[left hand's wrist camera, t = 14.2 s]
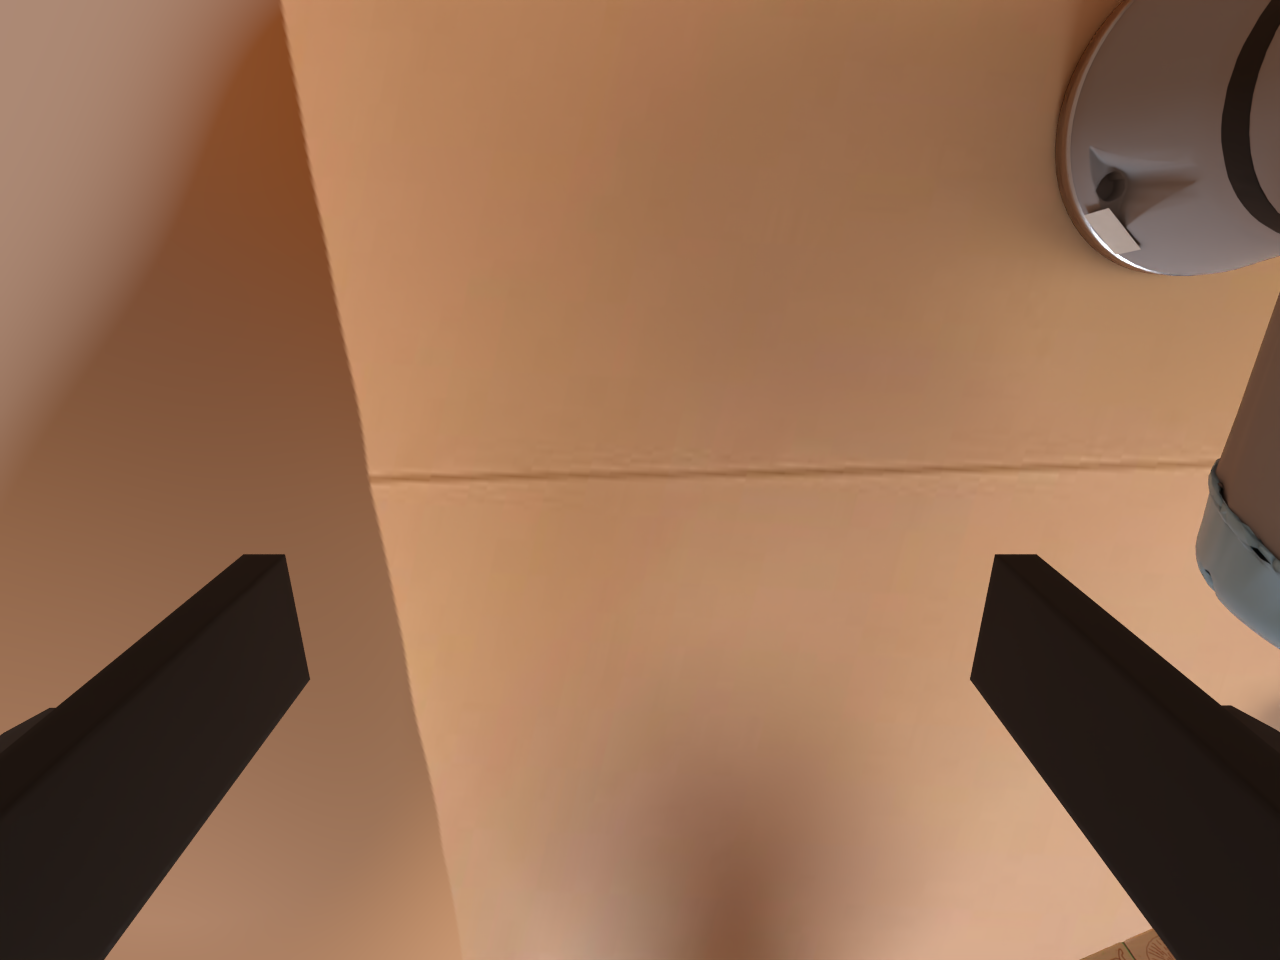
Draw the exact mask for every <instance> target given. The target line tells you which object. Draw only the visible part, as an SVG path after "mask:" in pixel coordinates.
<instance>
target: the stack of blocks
mask: <svg viewBox="0 0 1280 960" xmlns="http://www.w3.org/2000/svg"><path fill="white" fill-rule="evenodd" d="M1081 960H1176V959H1175V958H1174V956H1173V955H1172V954H1171V952H1170V951H1169V949H1168V948H1167V947H1166V945H1165V944H1164V943H1163V941H1162V940H1161V939H1160V937H1159V936H1158V935H1157V933H1156V932H1155V930H1154V929H1150V930H1148V931H1146V932H1144V933H1141V934H1139V935H1137V936H1134V937H1132V938H1130V939H1127V940H1126V941H1124V942H1121V943H1117V944H1115V945H1113V946H1111V947H1108V948H1105V949H1103V950H1101V951H1099V952H1097V953H1094V954H1092V955H1090V956H1087V957H1085V958H1083V959H1081Z"/></svg>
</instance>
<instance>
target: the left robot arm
mask: <svg viewBox="0 0 1280 960" xmlns="http://www.w3.org/2000/svg"><path fill="white" fill-rule="evenodd" d="M1055 160H1056V173H1057V179H1058V185H1059V189H1060V193H1061V197H1062V200H1063V203H1064V205H1065V208H1066V210H1067V213H1068V215H1069V216H1070V218H1071V220H1072V222H1073V224H1074V225H1075V227H1076V228H1077V230H1078V231H1079V233H1080V234H1081V235H1082V236H1083V238H1084V239H1085V240H1086V241H1087V242H1088V243H1089V244H1090V245H1091V246H1092V247H1093V248H1094V249H1095V250H1097V251H1098V252H1099V253H1100V254H1102V255H1103V256H1105V257H1106V258H1108V259H1109V260H1111V261H1113V262H1115V263H1117V264H1119V265H1121V266H1124V267H1127V268H1129V269H1132V270H1136V271H1140V272H1144V273H1152V274H1161V275H1172V276H1193V275H1203V274H1213V273H1220V272H1226V271H1230V270H1235V269H1239V268H1242V267H1245V266H1248V265H1252V264H1254V263H1257V262H1261V261H1264V260H1267V259H1271V258H1274V257H1277V256H1280V0H1123V1H1122V2H1121V3H1120V5H1119V6H1118V7H1117V8H1116V9H1115V10H1114V11H1113V12H1112V13H1111V14H1110V16H1109V17H1108V18H1107V19H1106V21H1105V22H1104V23H1103V24H1102V26H1101V27H1100V28H1099V30H1098V31H1097V33H1096V34H1095V35H1094V37H1093V38H1092V40H1091V41H1090V43H1089V44H1088V46H1087V48H1086V50H1085V51H1084V53H1083V55H1082V57H1081V58H1080V60H1079V62H1078V65H1077V67H1076V69H1075V71H1074V73H1073V75H1072V77H1071V80H1070V83H1069V85H1068V88H1067V91H1066V93H1065V97H1064V100H1063V104H1062V107H1061V111H1060V116H1059V121H1058V126H1057V135H1056V150H1055ZM1208 485H1209V492H1210V493H1209V497H1208V500H1207V504H1206V508H1205V512H1204V516H1203V519H1202V523H1201V526H1200V529H1199V533H1198V536H1197V541H1196V559H1197V563H1198V567H1199V570H1200V572H1201V573H1202V575H1203V577H1204V579H1205V580H1206V582H1207V584H1208V585H1209V586H1210V587H1211V588H1212V589H1213V590H1214V591H1215V593H1216V596H1217V597H1218V599H1219V600H1220V601H1221V603H1222V604H1223V605H1224V606H1225V607H1226V608H1227V609H1228V610H1229V611H1230V612H1231V613H1232V614H1233V615H1234V616H1236V617H1237V618H1238V619H1239V620H1240V621H1242V622H1243V623H1244V624H1245V625H1247V626H1248V627H1249V628H1250V629H1251V630H1253V631H1254V632H1255V633H1257V634H1258V635H1259V636H1261V637H1262V638H1264V639H1265V640H1267V641H1268V642H1269V643H1271V644H1272V645H1274V646H1275V647H1277V648H1278V649H1280V293H1279V296H1278V299H1277V302H1276V305H1275V307H1274V310H1273V313H1272V316H1271V319H1270V322H1269V325H1268V327H1267V330H1266V333H1265V336H1264V339H1263V342H1262V344H1261V347H1260V350H1259V353H1258V356H1257V359H1256V362H1255V364H1254V367H1253V370H1252V373H1251V376H1250V379H1249V382H1248V384H1247V387H1246V390H1245V393H1244V396H1243V399H1242V402H1241V404H1240V407H1239V410H1238V413H1237V416H1236V418H1235V421H1234V424H1233V426H1232V429H1231V432H1230V434H1229V437H1228V439H1227V442H1226V445H1225V447H1224V450H1223V453H1222V455H1221V458H1220V459H1217V460H1216V462H1215V464H1214V465H1213V467H1212V470H1211V473H1210V475H1209V479H1208ZM309 680H310V677H309V672H308V667H307V662H306V657H305V652H304V647H303V642H302V637H301V632H300V627H299V622H298V617H297V612H296V607H295V602H294V597H293V592H292V587H291V582H290V577H289V572H288V567H287V563H286V558H285V555H284V554H244V555H242V556H241V557H240V558H239V559H237V560H236V561H235V562H234V563H232V564H231V565H230V566H229V567H228V568H226V569H225V570H224V571H223V572H222V573H220V574H219V575H218V576H217V577H215V578H214V579H213V580H212V581H210V582H209V583H208V584H207V585H206V586H204V587H203V588H202V589H201V590H199V591H198V592H197V593H196V594H195V595H193V596H192V597H191V598H190V599H188V600H187V601H186V602H185V603H184V604H182V605H181V606H180V607H179V608H177V609H176V610H175V611H174V612H173V613H171V614H170V615H169V616H168V617H166V618H165V619H164V620H163V621H162V622H160V623H159V624H158V625H157V626H155V627H154V628H153V629H152V630H151V631H149V632H148V633H147V634H146V635H144V636H143V637H142V638H141V639H140V640H138V641H137V642H136V643H135V644H133V645H132V646H131V647H130V648H129V649H127V650H126V651H125V652H124V653H122V654H121V655H120V656H119V657H118V658H116V659H115V660H114V661H113V662H111V663H110V664H109V665H108V666H107V667H105V668H104V669H103V670H102V671H100V672H99V673H98V674H97V675H96V676H94V677H93V678H92V679H91V680H89V681H88V682H87V683H86V684H85V685H83V686H82V687H81V688H80V689H79V690H77V691H76V692H75V693H74V694H72V695H71V696H70V697H69V698H67V699H66V700H65V701H64V702H63V703H61V704H60V705H59V706H58V707H56V708H49V709H47V710H45V711H43V712H41V713H40V714H38V715H36V716H34V717H32V718H30V719H29V720H27V721H25V722H23V723H21V724H19V725H17V726H16V727H14V728H12V729H10V730H8V731H6V732H5V733H3V734H2V735H0V960H104V959H105V958H106V956H107V955H108V954H109V952H110V951H111V949H112V948H113V947H114V945H115V944H116V943H117V941H118V940H119V939H120V937H121V936H122V934H123V933H124V932H125V930H126V929H127V928H128V926H129V925H130V924H131V922H132V921H133V920H134V918H135V917H136V915H137V914H138V913H139V911H140V910H141V909H142V907H143V906H144V905H145V903H146V902H147V900H148V899H149V898H150V896H151V895H152V894H153V892H154V891H155V890H156V888H157V887H158V885H159V884H160V883H161V881H162V880H163V879H164V877H165V876H166V875H167V873H168V872H169V871H170V869H171V868H172V866H173V865H174V864H175V862H176V861H177V860H178V858H179V857H180V856H181V854H182V853H183V851H184V850H185V849H186V847H187V846H188V845H189V843H190V842H191V841H192V839H193V838H194V836H195V835H196V834H197V832H198V831H199V830H200V828H201V827H202V826H203V824H204V823H205V821H206V820H207V819H208V817H209V816H210V815H211V813H212V812H213V811H214V809H215V808H216V807H217V805H218V804H219V802H220V801H221V800H222V798H223V797H224V796H225V794H226V793H227V792H228V790H229V789H230V787H231V786H232V785H233V783H234V782H235V781H236V779H237V778H238V777H239V775H240V774H241V773H242V771H243V770H244V768H245V767H246V766H247V764H248V763H249V762H250V760H251V759H252V757H253V756H254V755H255V753H256V752H257V751H258V749H259V748H260V747H261V745H262V744H263V743H264V741H265V740H266V738H267V737H268V736H269V734H270V733H271V732H272V730H273V729H274V728H275V726H276V725H277V723H278V722H279V721H280V719H281V718H282V717H283V715H284V714H285V713H286V711H287V710H288V709H289V707H290V706H291V704H292V703H293V702H294V700H295V699H296V698H297V696H298V695H299V694H300V692H301V691H302V689H303V688H304V687H305V685H306V684H307V683H308V681H309ZM970 680H971V681H972V683H973V684H974V685H975V687H976V688H977V689H978V691H979V692H980V694H981V695H982V696H983V698H984V699H985V700H986V702H987V703H988V704H989V706H990V707H991V709H992V710H993V711H994V713H995V714H996V715H997V717H998V718H999V719H1000V721H1001V722H1002V724H1003V725H1004V726H1005V728H1006V729H1007V730H1008V732H1009V733H1010V734H1011V736H1012V737H1013V738H1014V740H1015V741H1016V743H1017V744H1018V745H1019V747H1020V748H1021V749H1022V751H1023V752H1024V753H1025V755H1026V756H1027V758H1028V759H1029V760H1030V762H1031V763H1032V764H1033V766H1034V767H1035V768H1036V770H1037V771H1038V773H1039V774H1040V775H1041V777H1042V778H1043V779H1044V781H1045V782H1046V783H1047V785H1048V786H1049V787H1050V789H1051V790H1052V792H1053V793H1054V794H1055V796H1056V797H1057V798H1058V800H1059V801H1060V802H1061V804H1062V805H1063V807H1064V808H1065V809H1066V811H1067V812H1068V813H1069V815H1070V816H1071V817H1072V819H1073V820H1074V822H1075V823H1076V824H1077V826H1078V827H1079V828H1080V830H1081V831H1082V832H1083V834H1084V835H1085V836H1086V838H1087V839H1088V841H1089V842H1090V843H1091V845H1092V846H1093V847H1094V849H1095V850H1096V851H1097V853H1098V854H1099V856H1100V857H1101V858H1102V860H1103V861H1104V862H1105V864H1106V865H1107V866H1108V868H1109V869H1110V871H1111V872H1112V873H1113V875H1114V876H1115V877H1116V879H1117V880H1118V881H1119V883H1120V884H1121V885H1122V887H1123V888H1124V890H1125V891H1126V892H1127V894H1128V895H1129V896H1130V898H1131V899H1132V900H1133V902H1134V903H1135V905H1136V906H1137V907H1138V909H1139V910H1140V911H1141V913H1142V914H1143V915H1144V917H1145V918H1146V920H1147V921H1148V922H1149V924H1150V925H1151V926H1152V928H1153V929H1154V930H1155V932H1156V933H1157V935H1158V936H1159V937H1160V939H1161V940H1162V941H1163V943H1164V944H1165V945H1166V947H1167V948H1168V949H1169V951H1170V952H1171V954H1172V955H1173V956H1174V958H1175V959H1176V960H1280V732H1279V731H1277V730H1275V729H1274V728H1272V727H1270V726H1268V725H1266V724H1264V723H1263V722H1261V721H1259V720H1257V719H1255V718H1253V717H1251V716H1250V715H1248V714H1246V713H1244V712H1242V711H1240V710H1238V709H1237V708H1235V707H1233V706H1221V705H1220V704H1219V703H1217V702H1216V701H1215V700H1214V699H1213V698H1211V697H1210V696H1209V695H1208V694H1206V693H1205V692H1204V691H1203V690H1202V689H1200V688H1199V687H1198V686H1197V685H1195V684H1194V683H1193V682H1192V681H1191V680H1189V679H1188V678H1187V677H1186V676H1184V675H1183V674H1182V673H1181V672H1180V671H1178V670H1177V669H1176V668H1175V667H1173V666H1172V665H1171V664H1170V663H1169V662H1167V661H1166V660H1165V659H1164V658H1162V657H1161V656H1160V655H1159V654H1158V653H1156V652H1155V651H1154V650H1153V649H1151V648H1150V647H1149V646H1148V645H1147V644H1145V643H1144V642H1143V641H1142V640H1140V639H1139V638H1138V637H1137V636H1136V635H1134V634H1133V633H1132V632H1131V631H1129V630H1128V629H1127V628H1126V627H1125V626H1123V625H1122V624H1121V623H1120V622H1118V621H1117V620H1116V619H1115V618H1114V617H1112V616H1111V615H1110V614H1109V613H1107V612H1106V611H1105V610H1104V609H1103V608H1101V607H1100V606H1099V605H1098V604H1096V603H1095V602H1094V601H1093V600H1092V599H1090V598H1089V597H1088V596H1087V595H1085V594H1084V593H1083V592H1082V591H1081V590H1079V589H1078V588H1077V587H1076V586H1074V585H1073V584H1072V583H1071V582H1070V581H1068V580H1067V579H1066V578H1065V577H1063V576H1062V575H1061V574H1060V573H1059V572H1057V571H1056V570H1055V569H1054V568H1052V567H1051V566H1050V565H1049V564H1048V563H1046V562H1045V561H1044V560H1043V559H1041V558H1040V557H1039V556H1038V555H1037V554H995V557H994V562H993V567H992V572H991V577H990V582H989V587H988V592H987V597H986V602H985V607H984V612H983V617H982V622H981V627H980V632H979V637H978V642H977V647H976V652H975V657H974V662H973V667H972V672H971V677H970Z"/></svg>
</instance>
